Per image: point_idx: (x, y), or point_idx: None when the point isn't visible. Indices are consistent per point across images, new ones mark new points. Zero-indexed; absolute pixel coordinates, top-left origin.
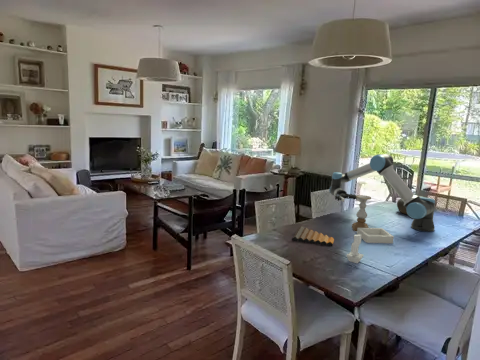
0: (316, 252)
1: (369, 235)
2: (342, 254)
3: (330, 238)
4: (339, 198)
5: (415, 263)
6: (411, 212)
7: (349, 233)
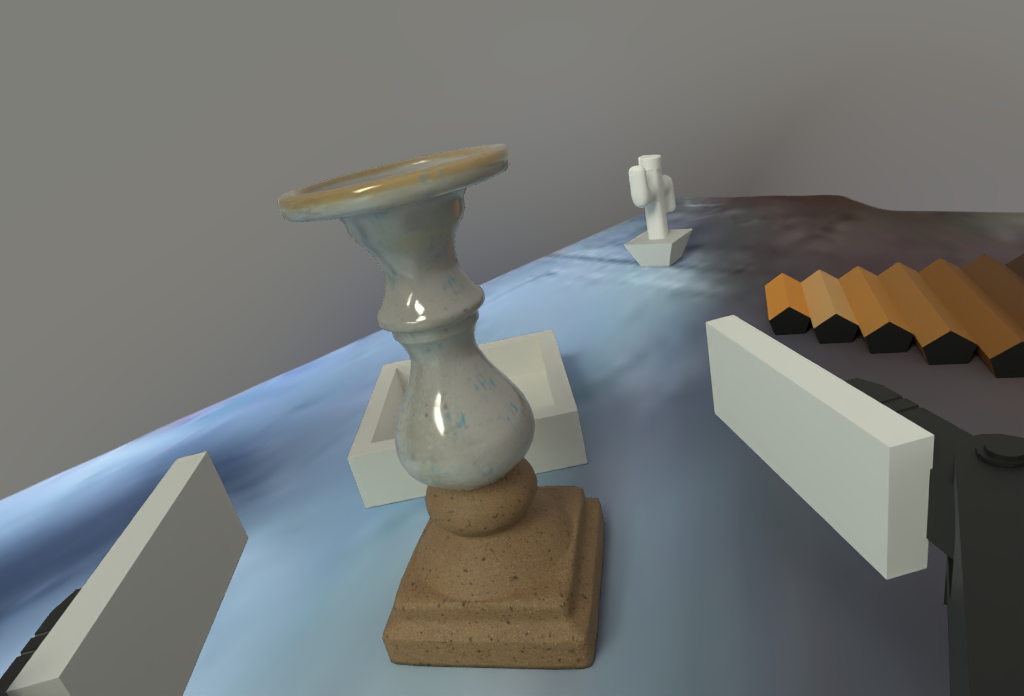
0: (829, 253)
1: (534, 337)
2: (708, 273)
3: (791, 297)
4: (897, 410)
5: None
6: None
7: (654, 459)
